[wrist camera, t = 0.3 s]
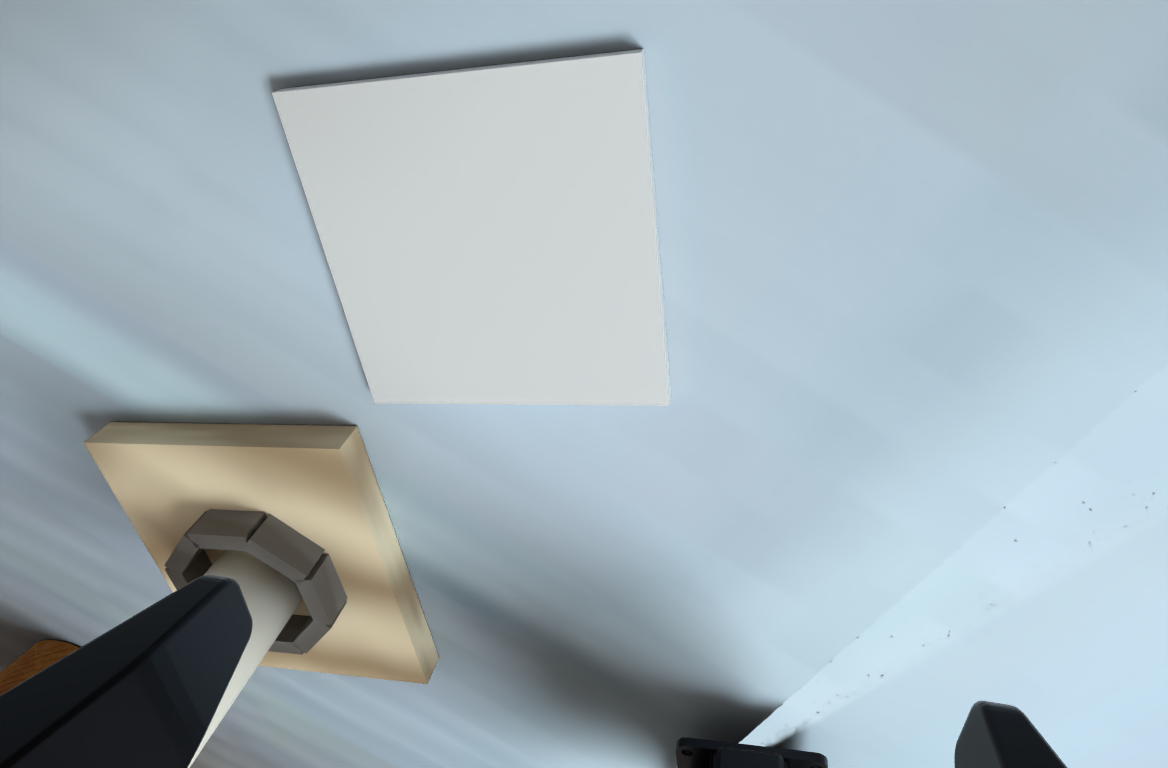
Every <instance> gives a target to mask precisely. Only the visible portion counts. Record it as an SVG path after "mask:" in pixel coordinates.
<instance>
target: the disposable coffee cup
mask: <svg viewBox="0 0 1168 768" xmlns="http://www.w3.org/2000/svg"><path fill="white" fill-rule="evenodd" d="M77 649H79V647H77V646H74V645H72V644H69V643H65V642H61V641H56V640H44V641H40V642H37V643H35V644H34V645H33V646H32V647H31V648H30V649H29V650H27V651H26V652H25V653H24V654H23V655H21V656H20V657H19V658H18V659H16V660H15V661H14V662H13V663H12V664H10V665H9V666H8V667H7V668H5V669H4V670H3V671H2V672H0V695H2V694H3V693H5V692H7V691H8V690H10V689H12V688H13V687H15V686H17V685H18V684H20V683H22V682H24V681H25V680H27V679H29V678H30V677H32V676H34V675H35V674H37V673H39V672H40V671H42V670H44V669H45V668H47V667H49V666H50V665H52V664H54V663H55V662H57V661H59V660H61V659H62V658H64V657H66V656H67V655H69V654H71V653H72V652H74V651H76V650H77Z"/></svg>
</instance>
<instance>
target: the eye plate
mask: <svg viewBox="0 0 1168 768" xmlns="http://www.w3.org/2000/svg"><path fill="white" fill-rule="evenodd" d="M84 444H85V446H86V448H87V449H88V451H89V453H90V454H91V456H92V458H93V459H94V461H95V463H96V464H97V466H98V468H99V469H100V471H101V473H102V474H103V476H104V478H105V479H106V481H107V483H108V484H109V486H110V488H111V489H112V491H113V493H114V494H115V496H116V498H117V499H118V501H119V503H120V504H121V506H122V508H123V509H124V511H125V513H126V514H127V516H128V518H129V519H130V521H131V523H132V524H133V526H134V528H135V529H136V531H137V533H138V534H139V536H140V538H141V540H142V541H143V543H144V545H145V546H146V548H147V550H148V551H149V553H150V555H151V556H152V558H153V560H154V561H155V563H156V565H157V566H158V568H159V570H160V571H161V573H162V575H163V576H164V578H165V580H166V581H167V583H168V585H169V586H170V588H171V590H172V591H173V592H175V591H177V590H178V589H180V588H182V587H183V586H185V585H187V584H188V583H190V582H192V581H193V580H195V579H197V578H199V577H201V576H203V575H204V574H205V573H206V572H207V571H208V570H209V568H210V567H211V566H212V565H213V564H214V562H215V561H216V560H217V559H218V558H219V556H220V555H221V554H222V553H223V552H224V551H225V550H234V551H247V552H249V553H250V554H252V555H253V556H255V557H256V558H258V559H259V560H261V561H263V562H264V563H266V564H267V565H269V566H270V567H272V568H274V569H275V570H277V571H278V572H280V573H281V574H283V575H284V576H286V577H288V578H289V579H291V580H292V581H294V582H295V583H296V585H297V587H298V589H299V591H300V593H301V595H302V598H303V599H302V601H301V602H300V604H299V605H298V607H297V608H296V610H295V611H294V613H293V614H292V616H291V617H290V619H289V620H288V622H287V623H286V625H285V626H284V628H283V629H282V631H281V632H280V634H279V635H278V637H277V638H276V640H275V641H274V643H273V644H272V646H271V647H270V649H269V650H268V652H267V653H266V655H265V656H264V657H263V659H262V660H261V662H260V663H259V665H258V666H267V667H276V668H285V669H294V670H303V671H313V672H322V673H331V674H340V675H349V676H359V677H368V678H377V679H386V680H395V681H405V682H414V683H423V684H428V682H429V679H430V677H431V675H432V673H433V670H434V668H435V666H436V663H437V661H438V659H439V656H438V653H437V650H436V648H435V645H434V642H433V639H432V636H431V633H430V631H429V628H428V625H427V622H426V619H425V616H424V613H423V611H422V608H421V605H420V602H419V599H418V596H417V594H416V591H415V588H414V585H413V582H412V579H411V577H410V574H409V571H408V568H407V565H406V562H405V560H404V557H403V554H402V551H401V548H400V545H399V543H398V540H397V537H396V534H395V531H394V528H393V526H392V523H391V520H390V517H389V514H388V511H387V509H386V506H385V503H384V500H383V497H382V494H381V492H380V489H379V486H378V483H377V480H376V477H375V474H374V472H373V469H372V466H371V463H370V460H369V457H368V455H367V452H366V449H365V446H364V443H363V440H362V438H361V435H360V432H359V429H358V426H321V425H262V424H202V423H143V422H109V423H108V424H107V425H105V426H104V427H103V428H102V429H100V430H99V431H98V432H97V433H95V434H94V435H93V436H91V437H90V438H89V439H88V440H86V441H85V442H84Z"/></svg>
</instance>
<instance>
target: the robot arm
mask: <svg viewBox="0 0 1168 768" xmlns="http://www.w3.org/2000/svg"><path fill="white" fill-rule="evenodd" d="M252 626H253V622H252V617H251V614H250V611H249V609H248V606H247V604H246V601H245V598H244V596H243V593H242V591H241V588H240V586H239V584H238V582H237V581H236V580H234V579H232V578H228V577H222V576H216V575H204V576H201V577H199V578H197V579H195V580H193V581H192V582H190V583H188V584H187V585H185V586H183V587H182V588H180V589H178V590H177V591H175V592H173V593H172V594H170V595H168V596H166V597H165V598H163V599H161V600H160V601H158V602H156V603H155V604H153V605H151V606H150V607H148V608H146V609H145V610H143V611H141V612H140V613H138V614H136V615H135V616H133V617H131V618H129V619H128V620H126V621H124V622H123V623H121V624H119V625H118V626H116V627H114V628H113V629H111V630H109V631H108V632H106V633H104V634H103V635H101V636H99V637H98V638H96V639H94V640H92V641H91V642H89V643H87V644H86V645H84V646H82V647H81V648H79V649H77V650H76V651H74V652H72V653H71V654H69V655H67V656H66V657H64V658H62V659H61V660H59V661H57V662H55V663H54V664H52V665H50V666H49V667H47V668H45V669H44V670H42V671H40V672H39V673H37V674H35V675H34V676H32V677H30V678H29V679H27V680H25V681H24V682H22V683H20V684H18V685H17V686H15V687H13V688H12V689H10V690H8V691H7V692H5V693H3V694H2V695H0V768H188V766H189V764H190V762H191V760H192V759H193V757H194V755H195V753H196V751H197V750H198V748H199V746H200V744H201V742H202V740H203V738H204V736H205V734H206V732H207V730H208V727H209V725H210V723H211V721H212V719H213V717H214V715H215V712H216V710H217V708H218V706H219V704H220V702H221V699H222V697H223V695H224V693H225V691H226V689H227V687H228V684H229V682H230V680H231V678H232V676H233V674H234V672H235V669H236V667H237V665H238V663H239V661H240V659H241V656H242V654H243V652H244V650H245V648H246V646H247V644H248V641H249V639H250V636H251V633H252ZM676 756H677V765H678V768H828V760H827V758H826V757H825V756H824V755H822V754H819V753H814V752H806V751H797V750H789V749H780V748H771V747H763V746H754V745H746V744H737V743H729V742H720V741H712V740H703V739H695V738H680V739H679V740H678V741H677V747H676ZM955 768H1067V767H1066V765H1065V764H1064V763H1063V762H1062V760H1061V759H1060V758H1059V757H1058V755H1057V754H1056V753H1055V752H1054V750H1053V749H1052V748H1051V747H1050V745H1049V744H1048V743H1047V742H1046V740H1045V739H1044V738H1043V737H1042V735H1041V734H1040V733H1039V732H1038V730H1037V729H1036V728H1035V727H1034V725H1033V724H1032V723H1031V722H1030V720H1029V719H1028V718H1027V717H1026V715H1025V714H1024V713H1023V712H1022V711H1021V710H1019V709H1018V708H1016V707H1014V706H1011V705H1006V704H1000V703H993V702H987V701H978V702H976V703H975V704H974V705H973V707H972V708H971V710H970V713H969V715H968V717H967V720H966V722H965V724H964V727H963V729H962V731H961V733H960V736H959V738H958V740H957V743H956V748H955Z"/></svg>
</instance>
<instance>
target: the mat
mask: <svg viewBox="0 0 1168 768" xmlns="http://www.w3.org/2000/svg"><path fill="white" fill-rule="evenodd" d="M272 95H273V98H274V101H275V104H276V107H277V110H278V113H279V116H280V119H281V122H282V125H283V128H284V131H285V134H286V137H287V140H288V143H289V146H290V149H291V153H292V156H293V159H294V162H295V165H296V168H297V171H298V174H299V177H300V180H301V183H302V186H303V189H304V192H305V195H306V198H307V201H308V204H309V207H310V210H311V213H312V216H313V219H314V222H315V225H316V228H317V231H318V234H319V237H320V240H321V243H322V246H323V249H324V252H325V255H326V258H327V261H328V264H329V267H330V270H331V273H332V276H333V279H334V282H335V285H336V288H337V291H338V294H339V297H340V300H341V303H342V306H343V310H344V313H345V316H346V319H347V322H348V325H349V328H350V331H351V334H352V337H353V340H354V343H355V346H356V349H357V352H358V355H359V358H360V361H361V364H362V367H363V370H364V373H365V376H366V379H367V382H368V385H369V388H370V391H371V394H372V397H373V400H374V403H410V404H530V405H650V406H669V405H670V399H671V387H670V374H669V362H668V349H667V337H666V324H665V311H664V299H663V286H662V273H661V261H660V248H659V236H658V223H657V210H656V198H655V185H654V172H653V160H652V147H651V135H650V122H649V109H648V97H647V84H646V71H645V59H644V49H638V50H629V51H620V52H611V53H602V54H593V55H584V56H575V57H565V58H556V59H547V60H538V61H529V62H520V63H511V64H502V65H493V66H484V67H475V68H466V69H457V70H448V71H439V72H429V73H420V74H411V75H402V76H393V77H384V78H375V79H366V80H357V81H348V82H339V83H330V84H321V85H312V86H303V87H293V88H284V89H281V90H278V91H275V92H273V93H272Z"/></svg>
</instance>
